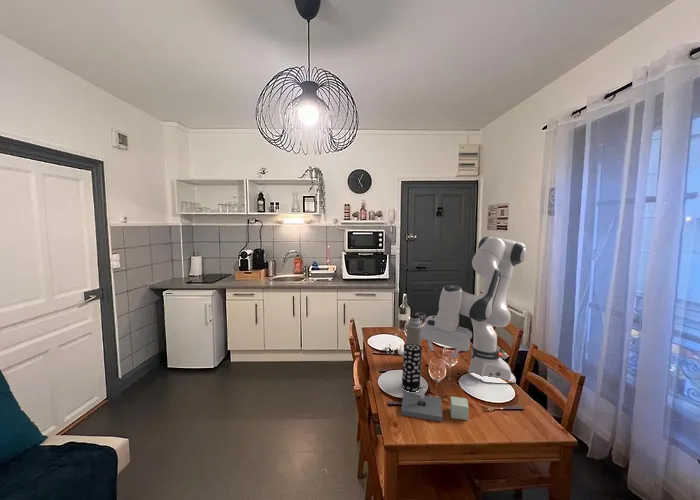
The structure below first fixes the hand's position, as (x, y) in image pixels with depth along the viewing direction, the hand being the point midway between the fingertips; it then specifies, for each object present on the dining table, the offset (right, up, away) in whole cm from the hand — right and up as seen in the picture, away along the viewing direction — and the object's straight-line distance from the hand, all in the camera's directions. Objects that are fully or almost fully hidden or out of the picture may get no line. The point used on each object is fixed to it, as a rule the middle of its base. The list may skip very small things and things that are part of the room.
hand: (442, 354), depth 134 cm
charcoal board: (-9, -22, -2) cm, 24 cm away
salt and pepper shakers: (-11, -17, +55) cm, 59 cm away
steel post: (-9, -22, -2) cm, 23 cm away
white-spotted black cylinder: (-11, -21, +14) cm, 27 cm away
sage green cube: (+5, -23, -5) cm, 24 cm away
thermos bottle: (-5, -19, +38) cm, 43 cm away
